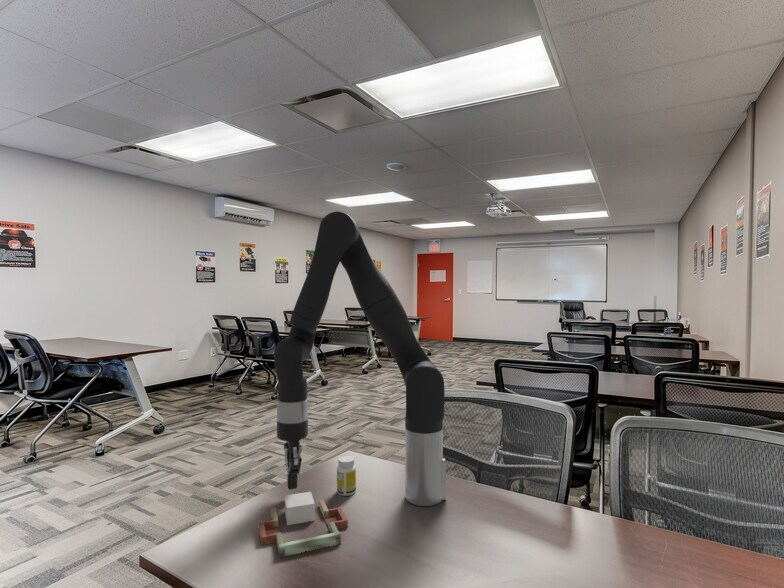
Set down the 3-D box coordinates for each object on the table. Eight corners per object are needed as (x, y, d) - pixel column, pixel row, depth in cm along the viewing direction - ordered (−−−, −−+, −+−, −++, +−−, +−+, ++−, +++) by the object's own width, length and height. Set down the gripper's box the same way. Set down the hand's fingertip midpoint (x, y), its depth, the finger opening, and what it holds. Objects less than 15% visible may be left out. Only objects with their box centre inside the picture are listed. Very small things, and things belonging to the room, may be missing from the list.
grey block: (311, 508, 101) (310, 491, 101) (314, 521, 95) (314, 503, 95) (284, 512, 99) (284, 495, 99) (286, 526, 93) (286, 507, 93)
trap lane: (335, 502, 103) (335, 494, 103) (355, 540, 87) (355, 531, 87) (256, 517, 97) (256, 508, 97) (263, 561, 81) (263, 550, 81)
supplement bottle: (357, 488, 111) (357, 455, 111) (354, 496, 106) (353, 462, 106) (339, 487, 111) (339, 455, 111) (335, 496, 107) (334, 462, 107)
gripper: (312, 423, 101) (312, 497, 101) (303, 409, 113) (302, 474, 114) (280, 427, 98) (279, 502, 98) (274, 412, 111) (273, 479, 111)
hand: (292, 487), depth 106 cm, fingers closed
